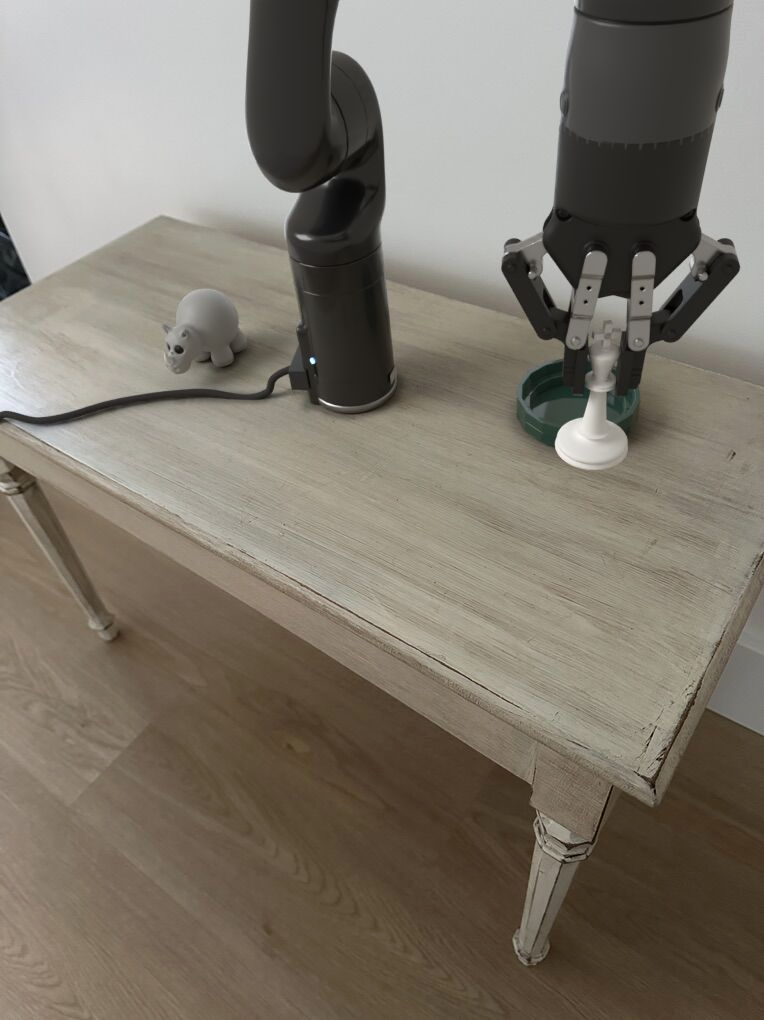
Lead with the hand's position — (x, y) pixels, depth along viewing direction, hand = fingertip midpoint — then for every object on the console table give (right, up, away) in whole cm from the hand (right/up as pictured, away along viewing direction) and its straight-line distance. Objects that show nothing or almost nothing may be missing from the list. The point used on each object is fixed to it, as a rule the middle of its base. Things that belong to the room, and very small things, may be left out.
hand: (598, 387), depth 52 cm
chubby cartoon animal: (-35, +9, +43) cm, 57 cm away
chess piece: (0, -4, +4) cm, 5 cm away
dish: (+6, +2, +30) cm, 31 cm away
